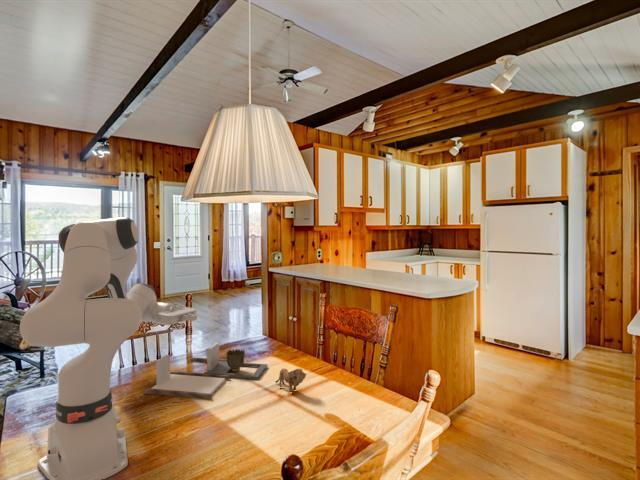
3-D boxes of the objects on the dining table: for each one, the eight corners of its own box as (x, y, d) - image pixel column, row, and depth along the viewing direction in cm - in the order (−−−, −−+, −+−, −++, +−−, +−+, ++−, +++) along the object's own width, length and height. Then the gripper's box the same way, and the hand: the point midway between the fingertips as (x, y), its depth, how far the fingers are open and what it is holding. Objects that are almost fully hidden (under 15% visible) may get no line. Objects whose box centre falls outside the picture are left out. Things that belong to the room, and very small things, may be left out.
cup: (242, 374, 142) (243, 354, 142) (224, 374, 142) (224, 354, 142) (246, 367, 150) (246, 348, 150) (228, 367, 150) (228, 348, 149)
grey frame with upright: (267, 366, 151) (267, 343, 151) (257, 379, 138) (258, 354, 137) (218, 363, 154) (218, 340, 154) (203, 375, 141) (204, 350, 140)
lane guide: (244, 364, 154) (244, 360, 154) (210, 399, 121) (210, 394, 121) (191, 360, 157) (191, 357, 157) (145, 393, 124) (145, 389, 124)
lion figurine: (307, 393, 127) (308, 368, 127) (297, 398, 123) (298, 372, 123) (279, 381, 137) (280, 358, 137) (269, 385, 133) (269, 361, 132)
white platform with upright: (225, 380, 136) (225, 355, 136) (209, 396, 122) (209, 368, 122) (171, 376, 139) (171, 351, 138) (150, 391, 125) (150, 364, 125)
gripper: (150, 309, 138) (183, 314, 136) (178, 303, 159) (207, 307, 156) (148, 325, 138) (181, 330, 136) (176, 317, 158) (205, 322, 156)
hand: (195, 318), depth 146 cm, fingers closed
